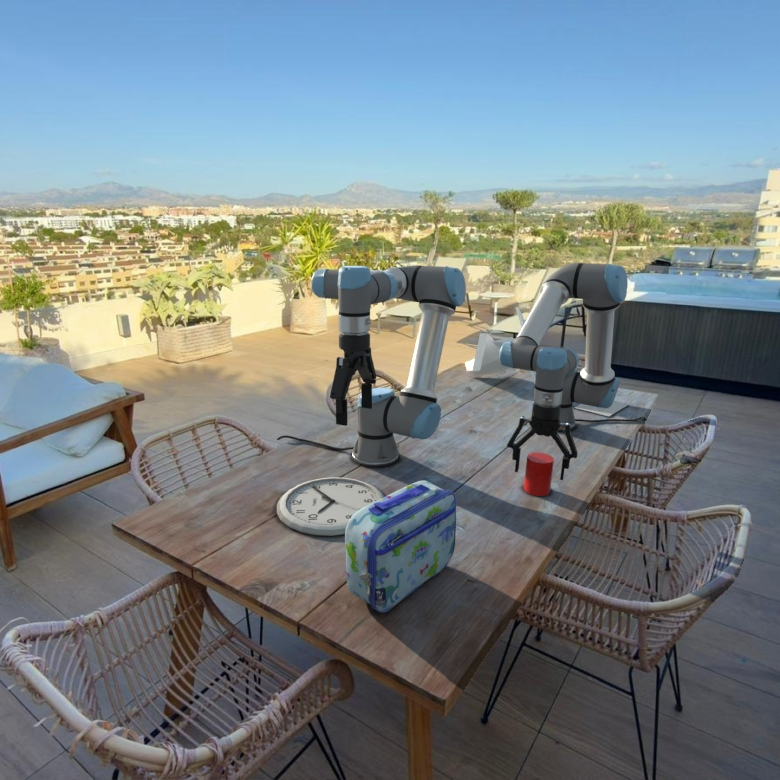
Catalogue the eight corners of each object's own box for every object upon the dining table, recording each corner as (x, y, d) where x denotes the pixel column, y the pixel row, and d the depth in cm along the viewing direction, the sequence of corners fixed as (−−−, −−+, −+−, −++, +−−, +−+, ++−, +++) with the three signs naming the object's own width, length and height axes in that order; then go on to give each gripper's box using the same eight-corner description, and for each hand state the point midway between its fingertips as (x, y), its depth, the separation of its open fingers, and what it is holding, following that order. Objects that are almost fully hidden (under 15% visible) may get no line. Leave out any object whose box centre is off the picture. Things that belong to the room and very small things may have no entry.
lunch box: (374, 626, 100) (375, 530, 93) (338, 598, 107) (337, 508, 101) (459, 568, 117) (465, 484, 111) (424, 547, 124) (427, 467, 118)
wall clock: (392, 527, 129) (268, 531, 127) (391, 533, 130) (269, 537, 127) (383, 473, 158) (282, 475, 155) (383, 478, 158) (282, 480, 156)
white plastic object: (486, 418, 267) (465, 395, 242) (467, 346, 289) (447, 318, 264) (556, 394, 255) (543, 367, 230) (531, 321, 277) (516, 289, 252)
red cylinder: (522, 482, 157) (525, 451, 154) (548, 485, 156) (551, 453, 153) (524, 494, 150) (528, 462, 147) (551, 497, 149) (555, 464, 146)
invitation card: (608, 416, 214) (573, 407, 224) (608, 416, 214) (573, 408, 224) (628, 404, 229) (594, 396, 238) (628, 405, 229) (594, 397, 238)
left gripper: (343, 343, 113) (344, 435, 119) (389, 325, 135) (388, 403, 141) (313, 340, 116) (315, 429, 122) (363, 323, 137) (363, 399, 144)
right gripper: (500, 401, 146) (494, 471, 152) (593, 414, 138) (582, 487, 144) (505, 394, 153) (499, 461, 159) (593, 405, 144) (583, 476, 151)
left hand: (354, 415), depth 131 cm, fingers open, 13 cm apart
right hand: (538, 474), depth 152 cm, fingers open, 12 cm apart
